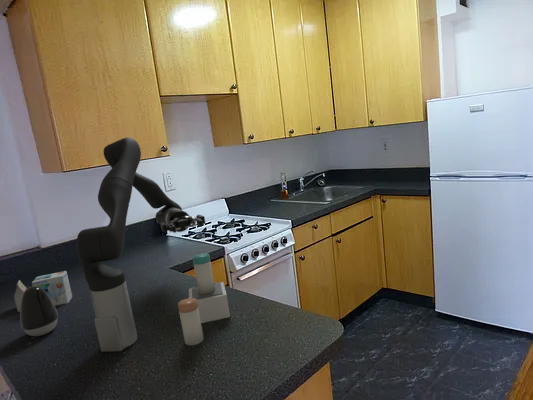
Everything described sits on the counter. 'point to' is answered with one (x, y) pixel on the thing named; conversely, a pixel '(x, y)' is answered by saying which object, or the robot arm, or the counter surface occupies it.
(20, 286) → the sunburst logo carton
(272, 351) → the counter surface
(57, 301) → the light bulb box
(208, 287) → the teal capped canister
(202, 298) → the grey unit
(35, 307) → the dark grey rounded pod
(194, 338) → the white spice bottle
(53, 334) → the counter surface
